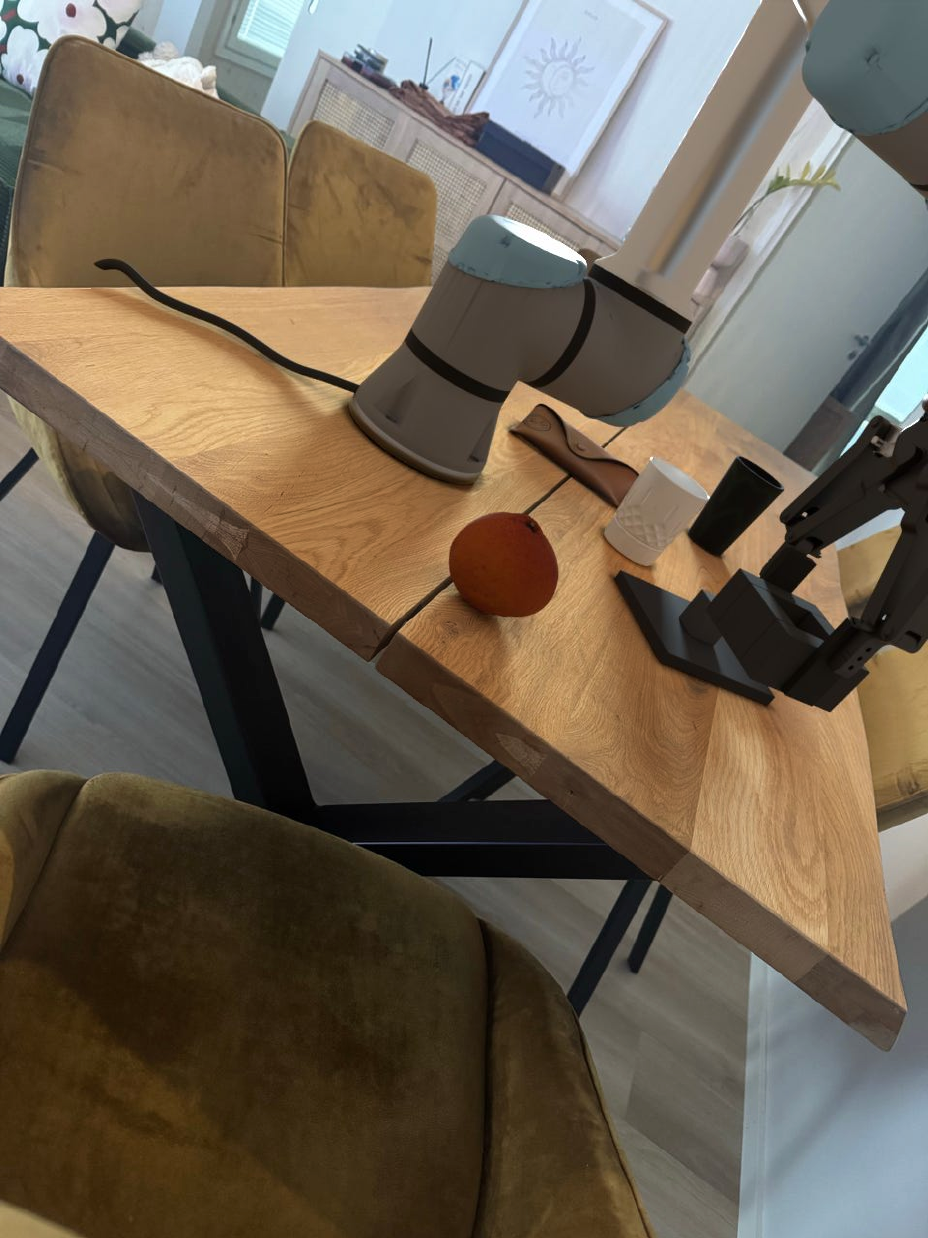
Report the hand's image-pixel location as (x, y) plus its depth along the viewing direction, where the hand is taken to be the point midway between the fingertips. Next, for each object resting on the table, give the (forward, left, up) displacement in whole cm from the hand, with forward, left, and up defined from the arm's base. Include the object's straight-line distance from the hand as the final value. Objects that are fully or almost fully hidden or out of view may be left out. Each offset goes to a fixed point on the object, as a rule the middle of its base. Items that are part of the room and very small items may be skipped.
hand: (768, 657), depth 65 cm
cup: (+31, +53, -11) cm, 62 cm away
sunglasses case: (+9, +57, -11) cm, 59 cm away
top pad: (0, 0, 0) cm, 0 cm away
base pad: (+12, +21, -11) cm, 26 cm away
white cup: (+11, +38, -11) cm, 41 cm away
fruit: (-15, +12, -11) cm, 22 cm away
